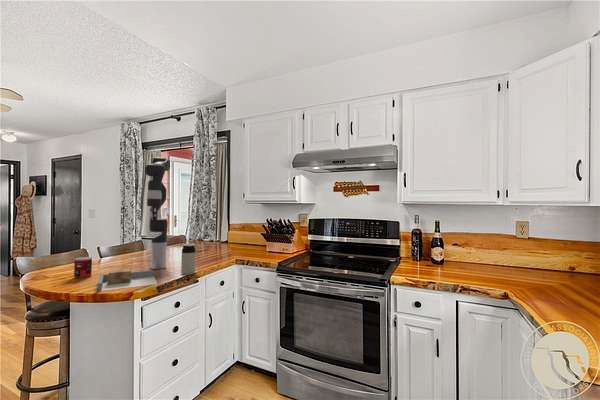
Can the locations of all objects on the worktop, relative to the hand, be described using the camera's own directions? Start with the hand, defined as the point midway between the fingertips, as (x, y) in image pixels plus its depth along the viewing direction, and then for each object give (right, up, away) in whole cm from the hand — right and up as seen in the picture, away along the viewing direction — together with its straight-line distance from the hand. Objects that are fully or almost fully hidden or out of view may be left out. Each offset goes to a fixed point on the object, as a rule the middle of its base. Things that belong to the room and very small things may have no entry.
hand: (153, 225), depth 167 cm
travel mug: (+16, -31, +10) cm, 36 cm away
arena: (-6, -30, -15) cm, 34 cm away
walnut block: (-10, -29, -15) cm, 34 cm away
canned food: (-39, -30, -4) cm, 49 cm away
